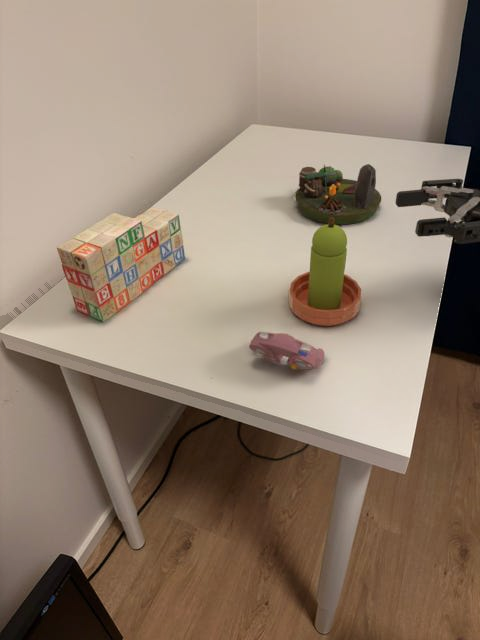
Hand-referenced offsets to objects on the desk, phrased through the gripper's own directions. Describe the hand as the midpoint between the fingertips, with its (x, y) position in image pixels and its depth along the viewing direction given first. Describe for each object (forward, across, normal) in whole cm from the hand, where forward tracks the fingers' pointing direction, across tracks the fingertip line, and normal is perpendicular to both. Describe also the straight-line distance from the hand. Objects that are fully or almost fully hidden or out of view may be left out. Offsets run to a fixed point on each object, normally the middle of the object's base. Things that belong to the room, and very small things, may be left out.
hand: (406, 213), depth 68 cm
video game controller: (+19, +12, +15) cm, 27 cm away
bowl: (+11, 0, +15) cm, 19 cm away
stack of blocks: (+42, -10, +15) cm, 46 cm away
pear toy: (+11, 0, +15) cm, 18 cm away
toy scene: (+1, -34, +16) cm, 38 cm away
